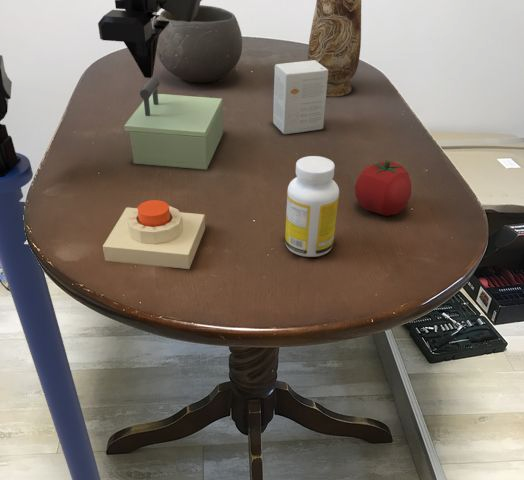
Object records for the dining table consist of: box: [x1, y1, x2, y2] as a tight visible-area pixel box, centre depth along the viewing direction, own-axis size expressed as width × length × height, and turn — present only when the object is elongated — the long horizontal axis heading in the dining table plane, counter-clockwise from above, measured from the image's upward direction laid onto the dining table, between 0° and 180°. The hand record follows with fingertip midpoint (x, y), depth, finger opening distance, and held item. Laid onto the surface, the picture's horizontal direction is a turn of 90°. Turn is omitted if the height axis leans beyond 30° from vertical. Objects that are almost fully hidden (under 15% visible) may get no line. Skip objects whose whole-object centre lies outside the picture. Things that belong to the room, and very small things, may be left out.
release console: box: [102, 205, 206, 270], centre depth 77 cm, size 11×10×4 cm
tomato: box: [354, 160, 412, 217], centre depth 85 cm, size 8×8×7 cm
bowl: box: [156, 4, 243, 84], centre depth 123 cm, size 18×18×13 cm
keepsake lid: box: [123, 76, 223, 137], centre depth 96 cm, size 13×15×5 cm
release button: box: [137, 199, 170, 227], centre depth 76 cm, size 4×4×2 cm
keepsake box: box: [129, 104, 224, 171], centre depth 99 cm, size 12×15×5 cm
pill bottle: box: [284, 155, 340, 258], centre depth 75 cm, size 6×6×12 cm
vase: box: [307, 0, 362, 97], centre depth 114 cm, size 10×11×30 cm
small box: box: [272, 60, 328, 135], centre depth 105 cm, size 8×6×10 cm
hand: (148, 77), depth 89 cm, fingers closed
